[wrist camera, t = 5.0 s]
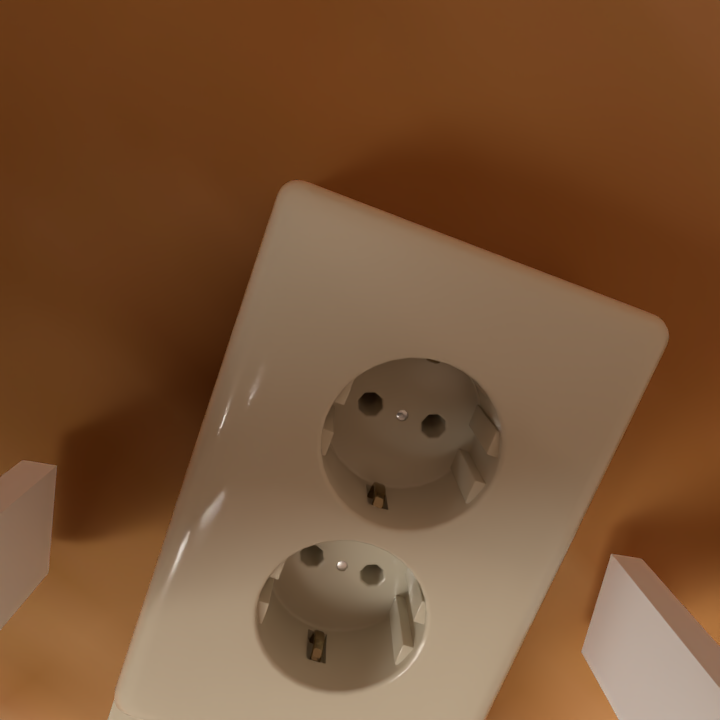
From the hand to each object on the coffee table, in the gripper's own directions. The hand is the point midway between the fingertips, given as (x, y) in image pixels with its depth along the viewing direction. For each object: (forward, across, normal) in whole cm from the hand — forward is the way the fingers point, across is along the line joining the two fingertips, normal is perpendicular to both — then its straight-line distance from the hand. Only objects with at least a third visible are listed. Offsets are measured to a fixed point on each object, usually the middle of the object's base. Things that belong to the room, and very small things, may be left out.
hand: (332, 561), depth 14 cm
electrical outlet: (+1, 0, -1) cm, 2 cm away
